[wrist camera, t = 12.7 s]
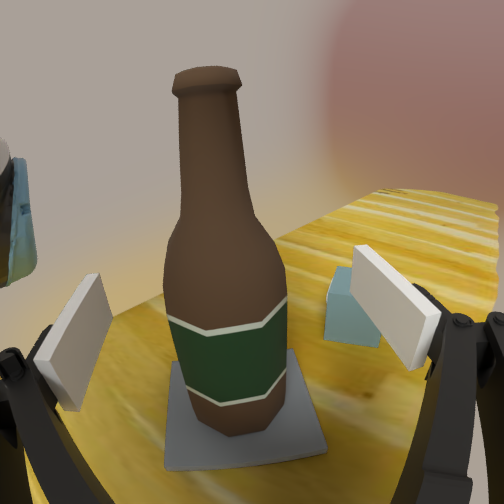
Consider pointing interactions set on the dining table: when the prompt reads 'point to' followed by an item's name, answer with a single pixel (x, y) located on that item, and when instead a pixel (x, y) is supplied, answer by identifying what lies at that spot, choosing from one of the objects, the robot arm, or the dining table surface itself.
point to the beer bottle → (223, 268)
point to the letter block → (347, 314)
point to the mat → (248, 445)
